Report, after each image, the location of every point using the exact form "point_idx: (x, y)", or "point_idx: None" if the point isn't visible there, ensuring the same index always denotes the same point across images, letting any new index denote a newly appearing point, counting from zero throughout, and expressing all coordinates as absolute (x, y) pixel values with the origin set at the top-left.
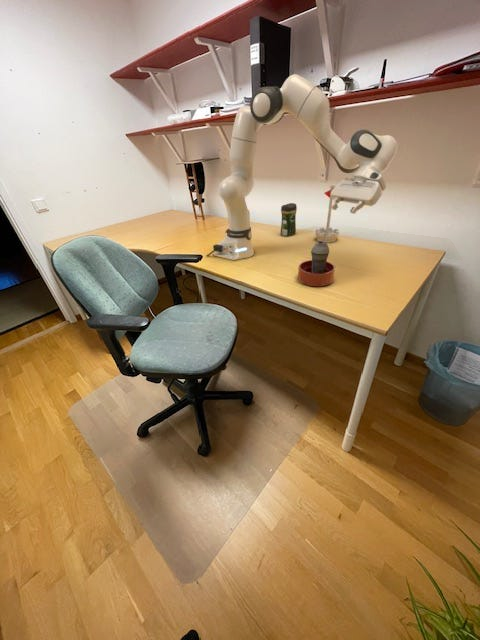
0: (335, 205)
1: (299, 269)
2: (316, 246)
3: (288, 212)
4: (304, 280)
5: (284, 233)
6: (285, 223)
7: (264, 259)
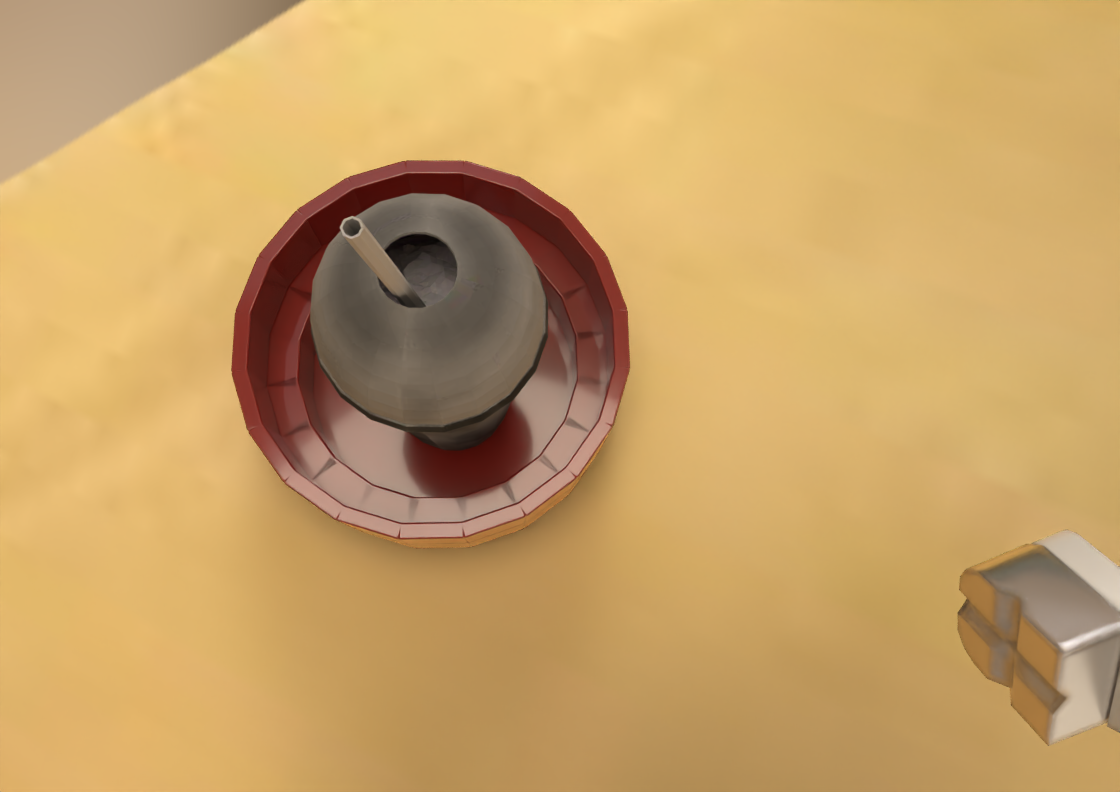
0: (1019, 612)
1: (447, 164)
2: (387, 203)
3: None
4: None
5: None
6: None
7: (1052, 89)
